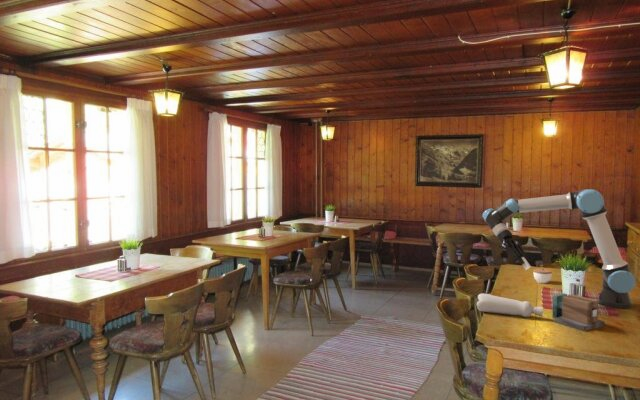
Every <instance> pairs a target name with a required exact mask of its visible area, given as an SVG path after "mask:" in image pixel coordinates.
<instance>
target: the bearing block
mask: <svg viewBox="0 0 640 400" xmlns="http://www.w3.org/2000/svg"><path fill="white" fill-rule="evenodd" d="M590 309H597V316H595V317H591V316H590ZM598 311H599V303H598V299H593V298H590V297H584V296H581V295H576V294H570V295H567V296H564V297H563V308H562V317H558V318H554V323H556V324H559V325H563V326H565V327H569V328H572V329H575V330H579V331H582V332H586V331H590V330H593V329H596V328H601V327H604V326H605V320H601V319H598V318H599V317H598V316H599V312H598Z"/></svg>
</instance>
